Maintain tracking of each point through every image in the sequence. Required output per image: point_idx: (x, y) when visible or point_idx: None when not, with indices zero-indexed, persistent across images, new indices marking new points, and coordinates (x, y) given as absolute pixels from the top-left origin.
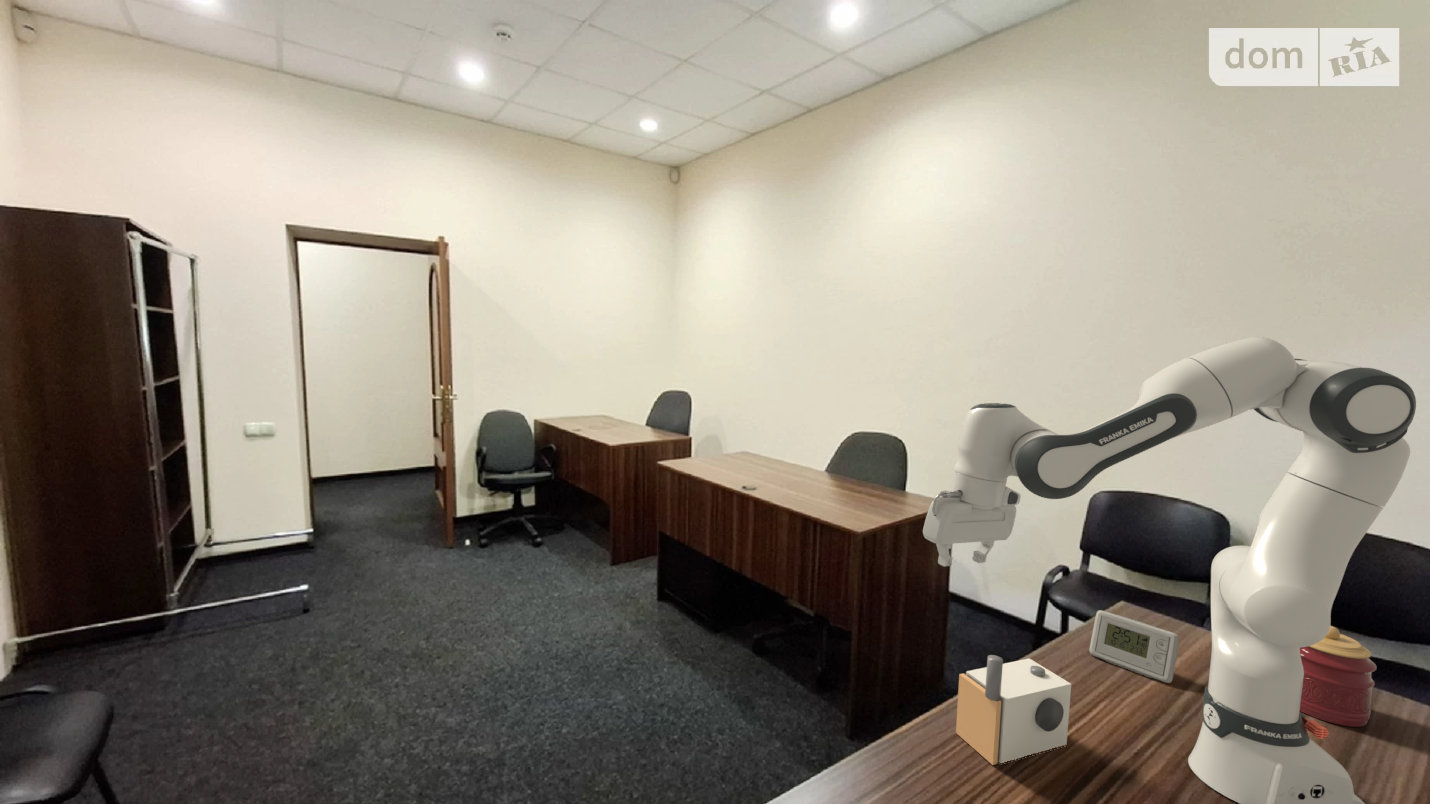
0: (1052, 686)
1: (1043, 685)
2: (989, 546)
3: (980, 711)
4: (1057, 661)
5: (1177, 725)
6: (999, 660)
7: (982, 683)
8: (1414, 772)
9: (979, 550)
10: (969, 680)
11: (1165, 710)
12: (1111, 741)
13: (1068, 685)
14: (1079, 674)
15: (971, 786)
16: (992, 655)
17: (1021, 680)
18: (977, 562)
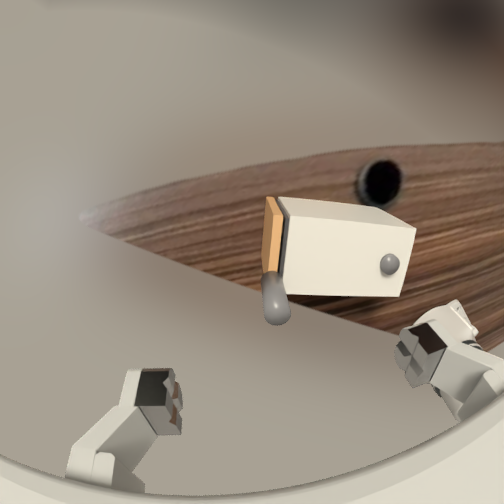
0: (373, 293)
1: (364, 288)
2: (465, 400)
3: (266, 251)
4: (487, 158)
5: (468, 277)
6: (279, 320)
7: (286, 251)
8: (495, 346)
9: (447, 361)
10: (274, 235)
11: (481, 260)
12: (408, 272)
13: (394, 295)
14: (483, 186)
15: (214, 266)
16: (283, 305)
17: (350, 268)
18: (395, 348)
